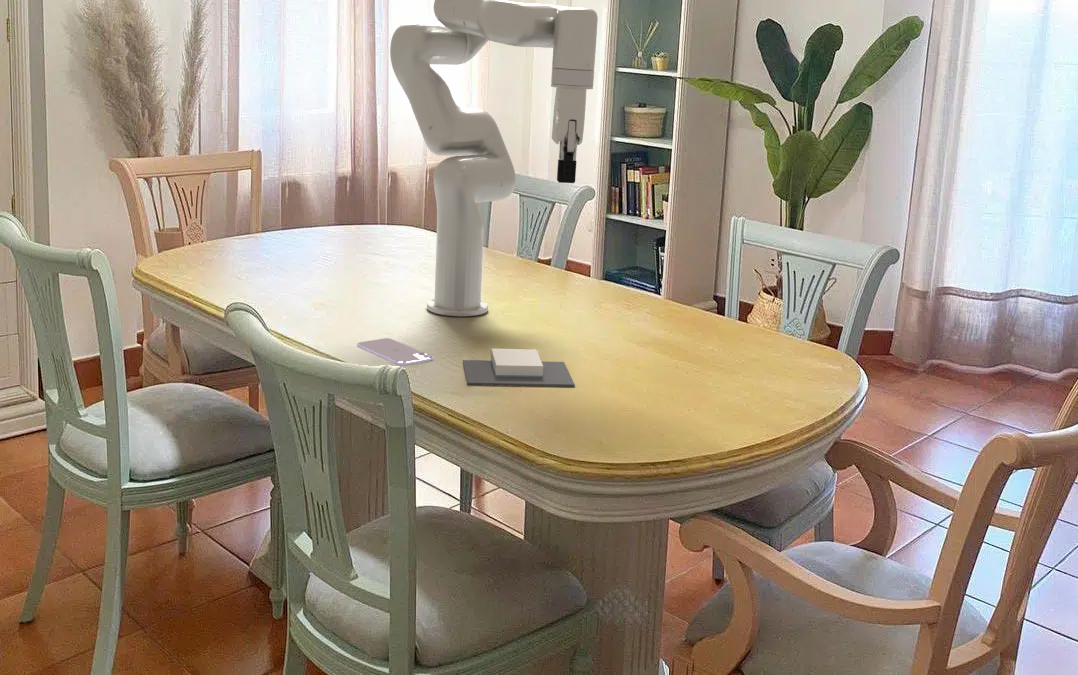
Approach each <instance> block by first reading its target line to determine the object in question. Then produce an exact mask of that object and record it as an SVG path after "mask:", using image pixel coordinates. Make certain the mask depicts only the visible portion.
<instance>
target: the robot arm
mask: <svg viewBox="0 0 1078 675" xmlns="http://www.w3.org/2000/svg"><path fill="white" fill-rule="evenodd" d="M433 13H434V16H435V18H436V19H437V20H436V21H434V20H413V21H409V22H408V21H407V22H405V23H403V24H400V25H399V26H398V27H397V28H396V29H395V30H394V32H393V34H392V36H391V40H390V49H389V52H390V53H389V54H390V55H389V56H390V62H391V67H392V70H393V73H394V75H395V77H396V79H397V82H398V83H399V85H400V87H401V88H402V90H403V92H404V93H405V95H406V97H407V99H408V101H409V104H410V106H411V109H412V112H413V115H414V117H415V120H416V121H417V122H416V123H417V124H418V127H419V130H420V132H421V136H422V138H423V140H424V142H425V145H426V147H427V148H428V150H429V152H431V153H432V154H434V155H437V156H443V157H444V156H445V157H446V156H451V157H446V158H444V159H443V160H442V161H440V162H439V163H438V164H437V166H436V167H435V169H434V172H433V180H432V181H433V183H432V184H433V188H434V189H433V190H434V195H435V202H436V244H435V246H436V247H435V251H436V253H435V278H434V280H435V281H434V298H432V299H430V300H428V301H427V302H426V309H427V310H428V312H431V313H434V314H437V315H442V316H447V317H474V316H479V315H480V316H481V315H483V314H485V313H487V312H488V310H489V309H488V308H489V305H488V303H486V302H485V301H483V300H482V299H481V298H482V277H483V257H484V254H483V253H484V237H485V236H484V234H485V232H484V231H485V230H484V228H485V227H484V225H485V224H484V221H483V218H482V215H481V213H480V211H479V209H478V207H477V203H479V204H480V203H487V202H497V201H502V200H505V199H507V198H508V197H510V196H511V195H512V193H513V192H514V190H515V187H516V179H517V178H516V172H515V169H514V168H515V167H514V165H513V162H512V159H511V156H510V154H509V152H508V149H507V147H506V144H505V142H504V139H503V137H502V134H501V132H500V129H499V127H498V124H497V123H496V121H495V119H494V118H493V117H492V115H490V114H489V113H488V112H487V111H486V110H484V109H482V108H476V107H460V106H458V105H457V104H456V102H455V100H454V98H453V95H452V93H451V90H450V88H449V86H448V84H447V83H446V82H445V80H444V79H443V78H442V77H441V75H439V73H438V72H436V71H435V70H434V69H433V68H432V67H431V65H462V64H466V63H467V62H469V61H470V60H472V59H473V58H474V57H475V56H476V55H477V54H478V53H479V52H480V51H481V50H482V49H483V47H484V46H485V45H486V44H487V43H488V41H490V42H494V43H498V44H504V45H508V46H513V47H521V48H545V49H548V48H549V49H552V63H551V64H552V65H551V78H550V80H551V81H550V82H551V83H550V87H552V88H556V89H555V95H554V103H553V104H554V105H553V118H552V130H551V139H552V141H553V142H554V143H555V144H556V145H559V150H558V151H559V153H558V158H559V159H557V172H556V174H557V175H556V181H557V183H562V184H575V182H576V174H577V173H576V172H577V150H578V146H580V145H582V143H583V137H584V129H585V119H586V106H587V104H586V102H587V90H593V89H594V82H595V81H594V78H595V62H596V49H597V48H596V47H597V35H598V22H599V21H598V18H599V17H598V14H597V12H596V11H595V10H594V9H593V8H587V7H575V6H574V7H572V6H564V5H557V4H555V5H554V4H543V3H533V2H532V3H529V2H525V3H524V2H515V1H510V0H434V3H433Z"/></svg>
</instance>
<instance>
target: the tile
mask: <svg viewBox="0 0 1078 675" xmlns="http://www.w3.org/2000/svg"><path fill="white" fill-rule="evenodd" d="M490 353H491V354H490V360H491V361H492V365H493V369H494V372H495V376H496V377H543V364H542V362H541V361H542V359H541V358H540V356H539V352H538V350H537V349H535V348H534V349H529V348H528V349H526V348H525V349H523V348H521V349H520V348H491V350H490Z"/></svg>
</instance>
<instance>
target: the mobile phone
mask: <svg viewBox="0 0 1078 675" xmlns="http://www.w3.org/2000/svg"><path fill="white" fill-rule="evenodd" d="M356 347H358V348H360V349H362V350H364V351H366V352H369V353H370V354H373V355H376V356H377V357H379V358H382V359H383V360H385V361H388V362H390V363H392V364H395V365H398V366H403V365H404V366H410V364H411V365H415V363H416V364H420V363H419V362H422V363H424V362H423V361H427V362H430V361H429V360H432V361H434V357H433V356H432V355H429V354H428V353H425V352H424V351H420V350H418V349H416V348H413V347H412V346H409V345H406V344H404V343H402V342H400V341H397V340H394V339H393V338H388V337H386V338H379V339H372V340H366V341H360V342H357V343H356Z"/></svg>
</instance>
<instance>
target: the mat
mask: <svg viewBox="0 0 1078 675" xmlns="http://www.w3.org/2000/svg"><path fill="white" fill-rule="evenodd" d="M541 362H542V364H543V377H496V376H495V372H494V369H493V365H492V361H491V359H490V360H487V359H486V360H485V359H484V360H483V359H463V360H462V364H463V369H464V375H465V379H466V384H467V386H498V385H501V386H503V385H504V386H505V387H507V386H509V385H510V387H511V386H512V387H514V386H516V387H517V386H518V387H557V388H558V387H565V388H566V387H567V388H569V387H571V388H572V387H573V388H574V387H575V382H574V380H573V378H572V376H571V374H570V372H569V370H568V368H567V365H566V364H565V361H545V360H544V361H543V360H541Z"/></svg>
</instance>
